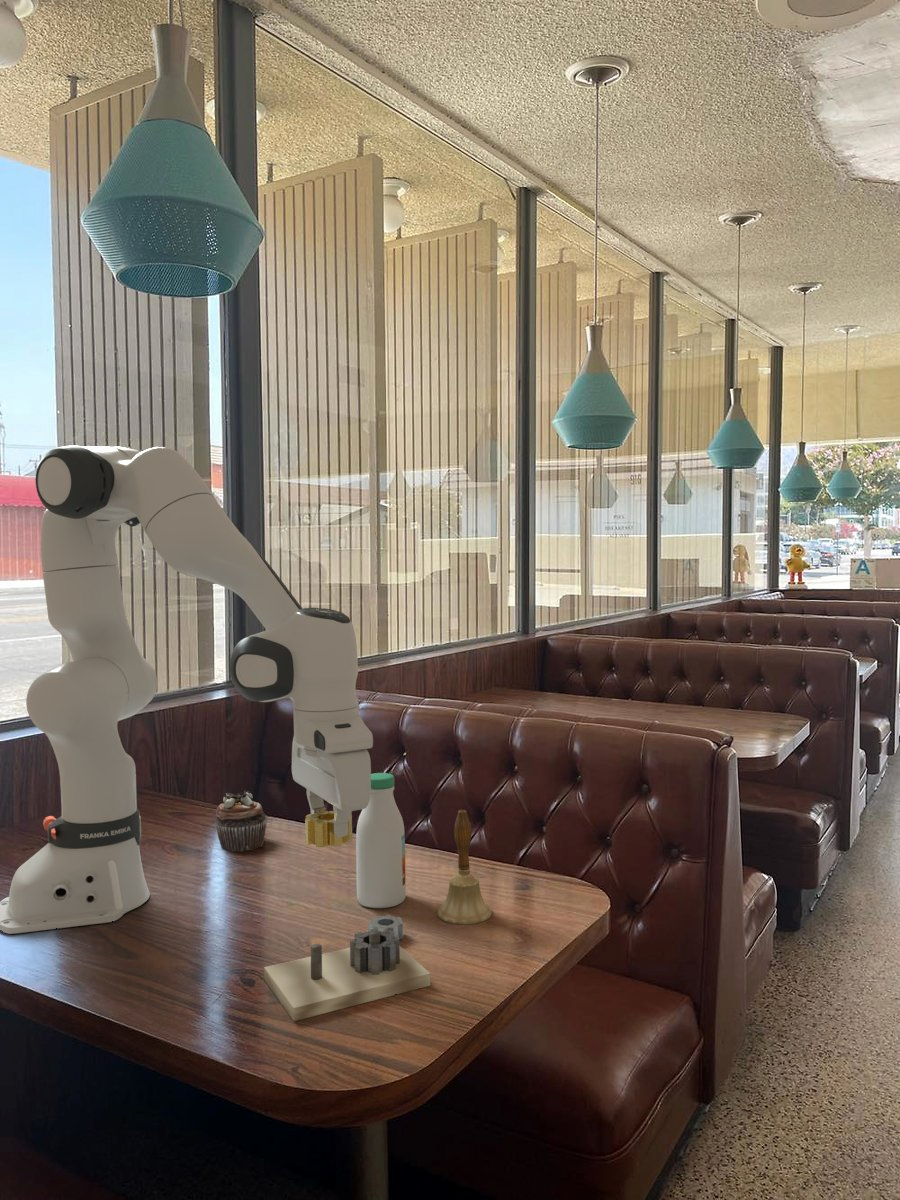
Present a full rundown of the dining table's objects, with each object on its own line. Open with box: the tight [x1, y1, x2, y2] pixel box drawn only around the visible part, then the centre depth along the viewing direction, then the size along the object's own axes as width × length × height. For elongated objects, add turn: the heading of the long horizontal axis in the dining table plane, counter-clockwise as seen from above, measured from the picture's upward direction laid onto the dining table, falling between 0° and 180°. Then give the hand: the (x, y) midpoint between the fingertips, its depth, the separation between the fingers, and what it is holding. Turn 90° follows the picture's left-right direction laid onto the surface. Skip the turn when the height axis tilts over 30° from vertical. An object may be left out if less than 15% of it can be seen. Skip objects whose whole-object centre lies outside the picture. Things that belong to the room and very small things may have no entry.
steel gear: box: [349, 929, 401, 975], centre depth 117 cm, size 6×6×3 cm
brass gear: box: [304, 810, 353, 848], centre depth 123 cm, size 6×6×3 cm
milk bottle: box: [355, 772, 407, 909], centre depth 142 cm, size 8×8×20 cm
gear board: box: [263, 931, 431, 1022], centre depth 115 cm, size 18×12×6 cm, turn 118°
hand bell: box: [436, 809, 493, 925], centre depth 137 cm, size 8×8×16 cm
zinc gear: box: [367, 914, 405, 940], centre depth 129 cm, size 5×5×2 cm
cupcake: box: [214, 789, 268, 852], centre depth 170 cm, size 10×10×10 cm
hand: (329, 827), depth 123 cm, fingers closed on brass gear, 6 cm apart
